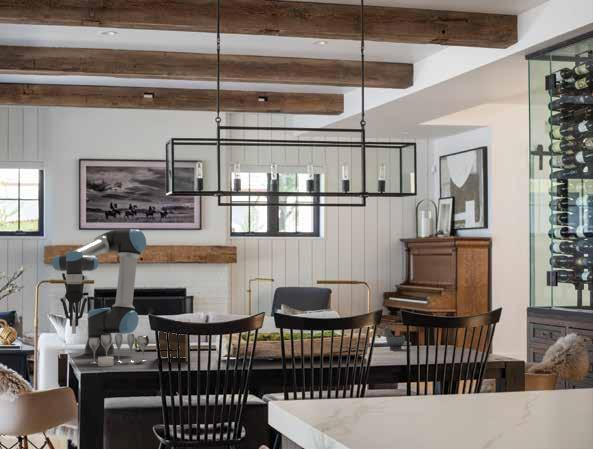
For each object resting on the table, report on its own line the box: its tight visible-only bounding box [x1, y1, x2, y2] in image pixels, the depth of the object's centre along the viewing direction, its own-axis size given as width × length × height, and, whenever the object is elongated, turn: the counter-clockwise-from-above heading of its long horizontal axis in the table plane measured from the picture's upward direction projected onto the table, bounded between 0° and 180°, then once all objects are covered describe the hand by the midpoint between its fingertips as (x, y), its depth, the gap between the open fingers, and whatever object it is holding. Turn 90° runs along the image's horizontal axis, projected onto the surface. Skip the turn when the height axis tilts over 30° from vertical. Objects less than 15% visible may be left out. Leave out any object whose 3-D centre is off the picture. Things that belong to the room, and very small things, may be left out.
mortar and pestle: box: [383, 326, 406, 351], centre depth 500 cm, size 11×9×12 cm
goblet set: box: [89, 333, 150, 364], centre depth 454 cm, size 28×6×13 cm, turn 103°
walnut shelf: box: [159, 318, 191, 363], centre depth 456 cm, size 20×16×19 cm
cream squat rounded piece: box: [97, 355, 115, 367], centre depth 440 cm, size 7×7×4 cm
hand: (73, 333), depth 452 cm, fingers closed
